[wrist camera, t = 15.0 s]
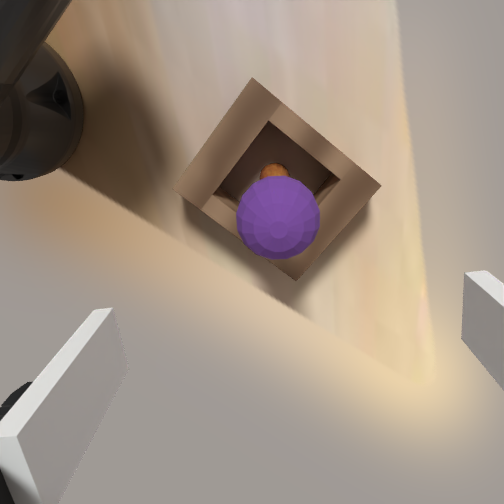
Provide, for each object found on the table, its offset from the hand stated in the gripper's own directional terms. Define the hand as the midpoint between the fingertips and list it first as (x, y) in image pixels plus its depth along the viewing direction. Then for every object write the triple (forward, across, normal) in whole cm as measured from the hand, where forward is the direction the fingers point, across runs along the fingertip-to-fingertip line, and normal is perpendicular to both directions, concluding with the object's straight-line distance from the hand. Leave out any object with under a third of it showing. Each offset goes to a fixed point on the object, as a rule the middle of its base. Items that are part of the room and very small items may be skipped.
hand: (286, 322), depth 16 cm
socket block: (+32, 0, 0) cm, 32 cm away
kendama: (+32, 0, 0) cm, 32 cm away
